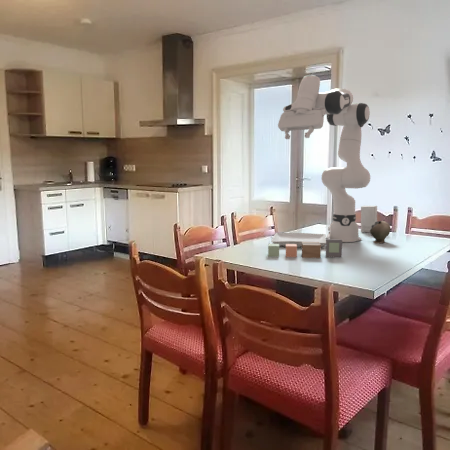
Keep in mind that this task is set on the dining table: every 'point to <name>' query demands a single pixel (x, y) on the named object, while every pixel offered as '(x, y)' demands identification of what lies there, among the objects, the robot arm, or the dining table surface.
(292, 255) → the terracotta cube
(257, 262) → the dining table surface
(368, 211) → the skincare box
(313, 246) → the walnut block
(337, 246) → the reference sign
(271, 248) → the sage green cube
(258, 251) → the dining table surface
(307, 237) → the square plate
